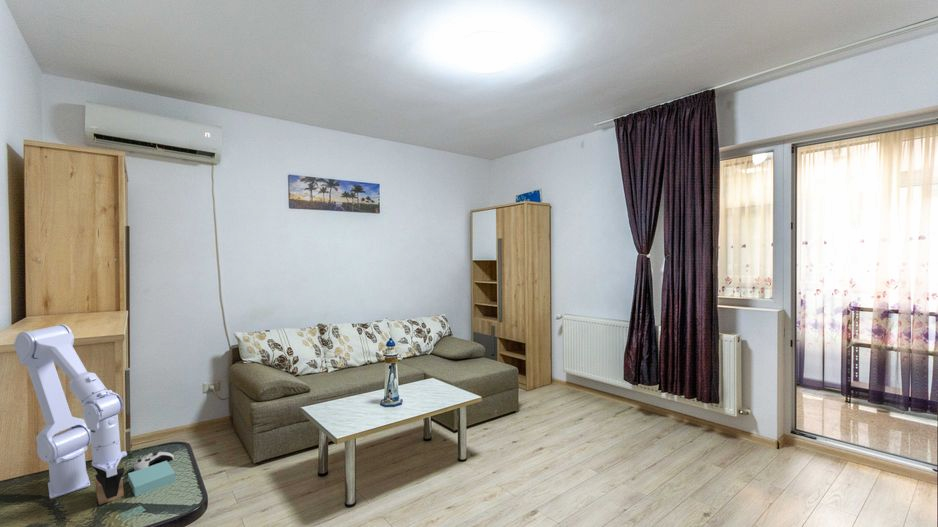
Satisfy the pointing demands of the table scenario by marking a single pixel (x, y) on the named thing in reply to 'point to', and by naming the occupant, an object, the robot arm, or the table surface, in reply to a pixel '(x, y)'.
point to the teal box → (151, 478)
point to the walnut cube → (101, 494)
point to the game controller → (152, 459)
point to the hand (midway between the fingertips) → (109, 491)
